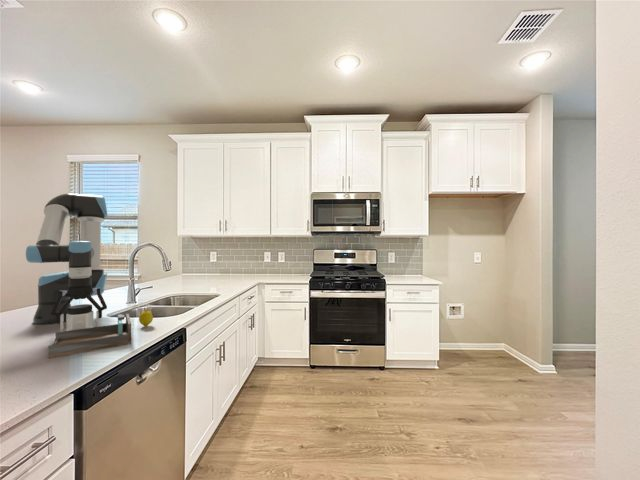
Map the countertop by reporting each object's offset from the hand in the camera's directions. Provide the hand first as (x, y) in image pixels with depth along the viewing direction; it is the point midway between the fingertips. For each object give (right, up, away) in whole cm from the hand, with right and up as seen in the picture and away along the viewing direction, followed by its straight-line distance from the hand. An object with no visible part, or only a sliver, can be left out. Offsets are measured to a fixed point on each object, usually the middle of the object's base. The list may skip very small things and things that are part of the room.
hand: (80, 328), depth 125 cm
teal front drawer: (+13, -3, -10) cm, 17 cm away
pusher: (+21, -2, -5) cm, 21 cm away
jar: (0, -3, 0) cm, 3 cm away
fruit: (+21, -3, +12) cm, 24 cm away
